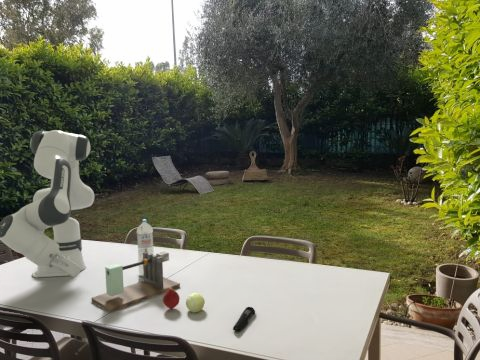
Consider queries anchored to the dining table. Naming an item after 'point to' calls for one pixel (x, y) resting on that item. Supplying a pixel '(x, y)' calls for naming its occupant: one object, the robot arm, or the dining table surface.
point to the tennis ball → (195, 302)
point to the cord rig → (140, 284)
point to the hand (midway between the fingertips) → (76, 273)
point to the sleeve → (114, 279)
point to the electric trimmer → (244, 319)
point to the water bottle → (144, 242)
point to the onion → (171, 298)
